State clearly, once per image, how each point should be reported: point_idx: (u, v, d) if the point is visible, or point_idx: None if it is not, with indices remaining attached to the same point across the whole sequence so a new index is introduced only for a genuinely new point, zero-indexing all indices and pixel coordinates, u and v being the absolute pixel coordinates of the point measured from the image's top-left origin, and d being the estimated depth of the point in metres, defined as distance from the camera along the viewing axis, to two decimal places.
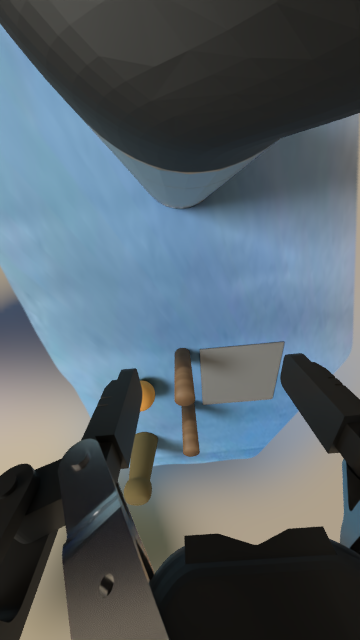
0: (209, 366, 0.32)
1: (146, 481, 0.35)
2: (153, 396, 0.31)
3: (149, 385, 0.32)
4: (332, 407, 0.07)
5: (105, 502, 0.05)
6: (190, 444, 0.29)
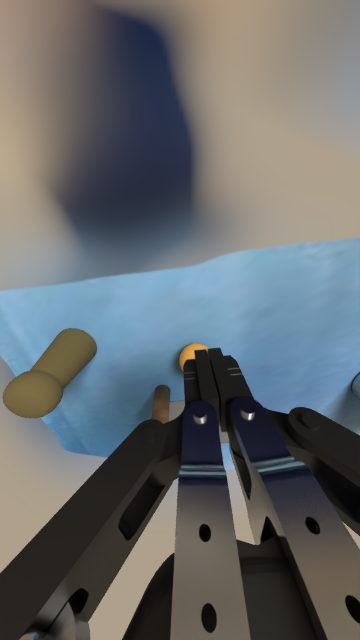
0: None
1: None
2: None
3: None
4: (218, 391, 0.08)
5: (213, 465, 0.05)
6: None
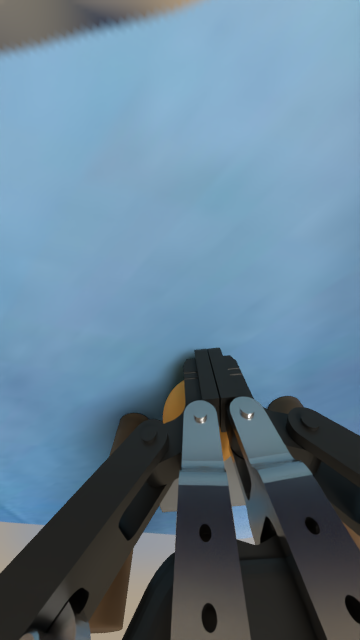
0: None
1: None
2: None
3: None
4: (218, 391, 0.08)
5: (213, 465, 0.05)
6: (123, 605, 0.08)
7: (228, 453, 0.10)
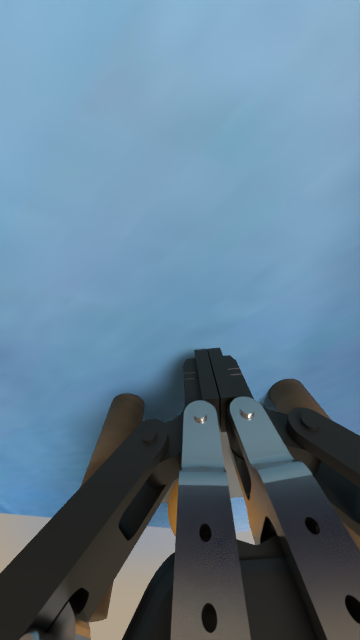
0: None
1: None
2: None
3: None
4: (218, 391, 0.08)
5: (213, 465, 0.05)
6: (109, 591, 0.07)
7: None
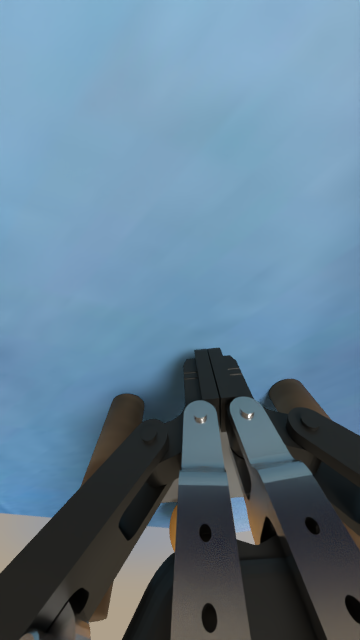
0: None
1: None
2: None
3: None
4: (218, 391, 0.08)
5: (213, 465, 0.05)
6: (109, 591, 0.07)
7: None
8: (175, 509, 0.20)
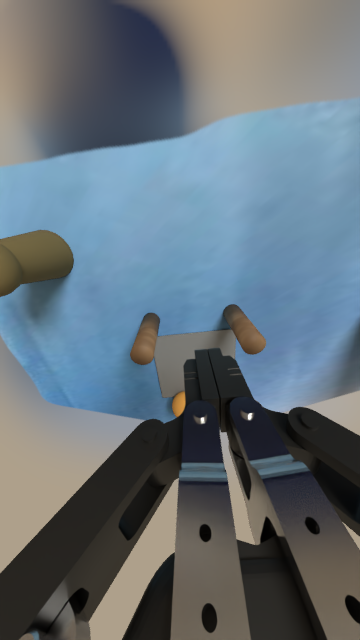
0: (212, 339, 0.30)
1: (19, 285, 0.17)
2: None
3: None
4: (218, 391, 0.08)
5: (213, 465, 0.05)
6: (153, 351, 0.21)
7: None
8: (175, 396, 0.34)
